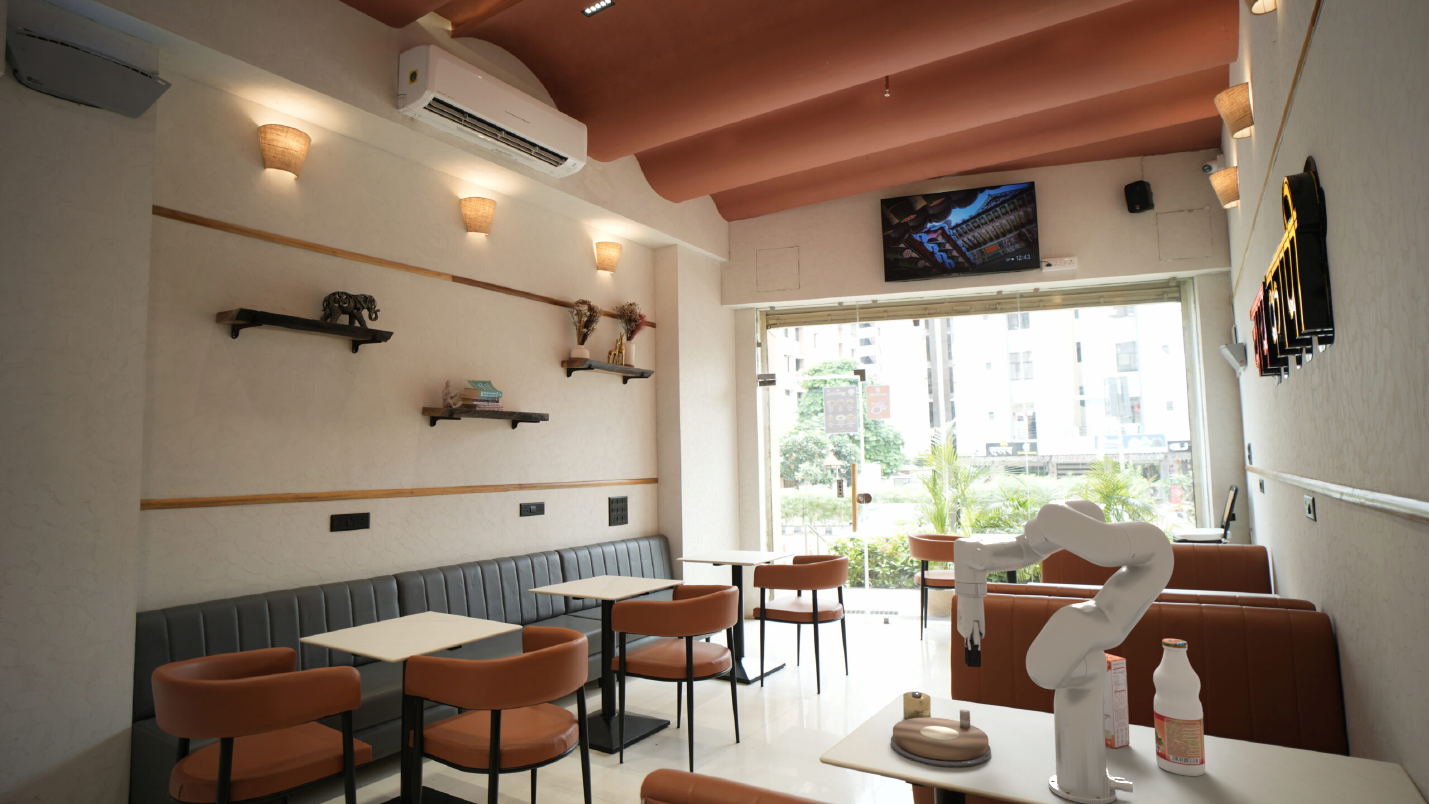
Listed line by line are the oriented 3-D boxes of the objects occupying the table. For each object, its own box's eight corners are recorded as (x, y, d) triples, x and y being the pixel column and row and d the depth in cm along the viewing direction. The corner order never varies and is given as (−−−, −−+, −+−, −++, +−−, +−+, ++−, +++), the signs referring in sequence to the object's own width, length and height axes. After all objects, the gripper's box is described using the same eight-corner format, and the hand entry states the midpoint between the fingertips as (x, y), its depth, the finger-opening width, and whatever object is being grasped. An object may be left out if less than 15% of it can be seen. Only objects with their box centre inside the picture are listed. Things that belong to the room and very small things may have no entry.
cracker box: (1064, 730, 190) (1061, 646, 192) (1080, 726, 193) (1077, 644, 194) (1113, 749, 178) (1110, 660, 179) (1130, 745, 180) (1127, 657, 182)
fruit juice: (1188, 780, 161) (1181, 647, 163) (1146, 764, 169) (1141, 638, 171) (1215, 772, 165) (1208, 643, 167) (1173, 756, 173) (1167, 634, 175)
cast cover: (935, 718, 199) (934, 692, 199) (923, 726, 194) (923, 699, 194) (910, 711, 203) (910, 686, 204) (898, 719, 198) (898, 693, 198)
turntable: (892, 722, 192) (891, 700, 193) (982, 729, 187) (981, 706, 188) (893, 755, 171) (892, 730, 171) (994, 763, 166) (994, 737, 166)
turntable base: (993, 738, 185) (993, 734, 185) (987, 774, 164) (987, 769, 164) (899, 725, 194) (899, 721, 194) (882, 757, 173) (882, 753, 173)
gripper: (949, 583, 192) (951, 656, 190) (961, 594, 176) (963, 673, 175) (979, 583, 191) (981, 657, 189) (994, 594, 175) (996, 674, 174)
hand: (973, 664), depth 182 cm, fingers closed
